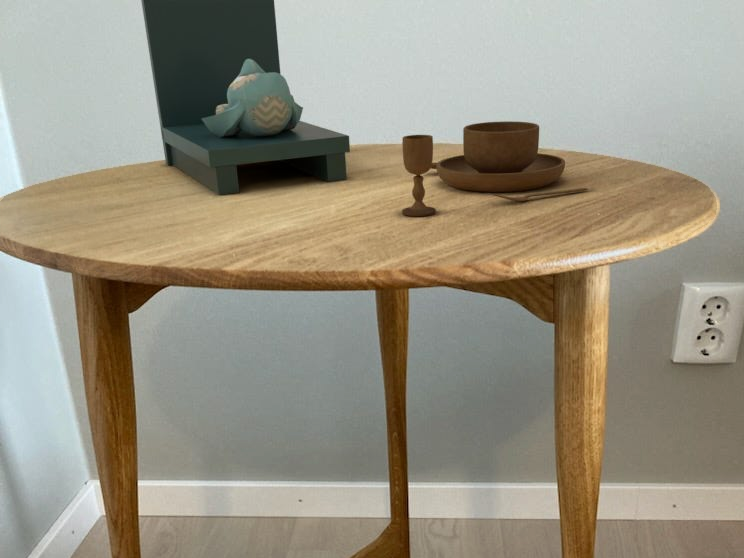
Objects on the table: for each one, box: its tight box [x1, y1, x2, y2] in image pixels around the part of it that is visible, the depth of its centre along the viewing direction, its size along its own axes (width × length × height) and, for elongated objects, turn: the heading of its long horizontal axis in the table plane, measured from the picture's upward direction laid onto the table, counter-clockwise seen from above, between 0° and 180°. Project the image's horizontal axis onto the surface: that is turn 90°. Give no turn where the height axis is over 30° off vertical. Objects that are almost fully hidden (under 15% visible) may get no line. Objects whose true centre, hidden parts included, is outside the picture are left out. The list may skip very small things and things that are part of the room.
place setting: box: [401, 120, 589, 217], centre depth 83 cm, size 18×20×6 cm
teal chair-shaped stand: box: [140, 0, 351, 196], centre depth 91 cm, size 21×14×22 cm, turn 24°
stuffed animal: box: [202, 59, 304, 137], centre depth 91 cm, size 11×7×12 cm
